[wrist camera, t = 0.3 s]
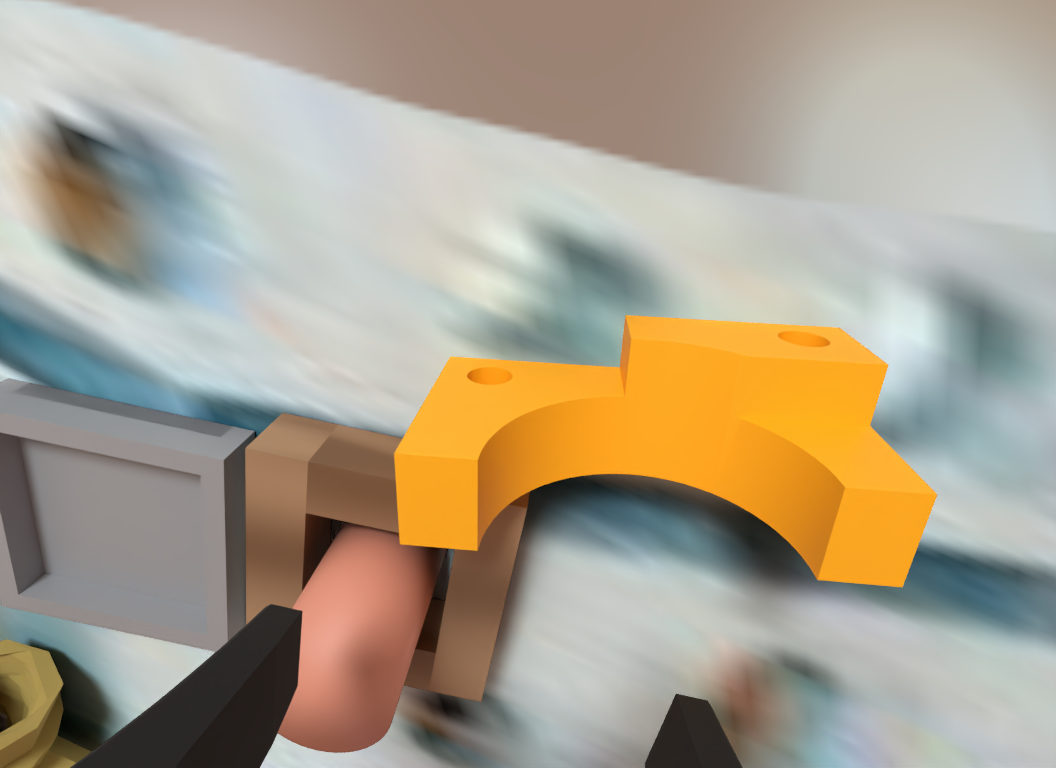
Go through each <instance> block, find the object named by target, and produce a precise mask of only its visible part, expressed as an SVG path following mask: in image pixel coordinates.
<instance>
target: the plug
mask: <svg viewBox="0 0 1056 768" xmlns="http://www.w3.org/2000/svg"><path fill="white" fill-rule="evenodd" d="M446 550H447V548H438V547H426V546H414V545H402V544H400V539H399V533H397V532H392V531H387V530H383V529H378V528H373V527H369V526H364V525H359V524H354V523H350V522H344V524H343V525H342V527H341V529H340V530H339V532H338V533H337V535H336V537H335V538H334V540H333V542H332V543H331V545H330V547H329V548H328V550H327V552H326V553H325V555H324V557H323V558H322V560H321V562H320V563H319V565H318V566H317V568H316V570H315V571H314V573H313V575H312V576H311V578H310V580H309V581H308V583H307V585H306V586H305V588H304V590H303V591H302V593H301V595H300V596H299V598H298V599H297V601H296V603H295V604H294V606H293V608H292V609H296V610H301V611H303V613H302V628H301V643H300V659H299V674H298V687H297V689H296V691H295V694H294V696H293V698H292V701H291V703H290V705H289V708H288V710H287V712H286V715H285V717H284V719H283V722H282V724H281V726H280V728H279V731H278V734H280V735H281V736H283V737H285V738H286V739H288V740H290V741H292V742H294V743H297V744H299V745H301V746H304V747H307V748H311V749H314V750H319V751H325V752H335V753H337V752H353V751H357V750H361V749H364V748H367V747H369V746H371V745H373V744H375V743H376V742H378V741H379V740H380V739H381V738H383V737H384V736H385V734H386V733H387V731H388V730H389V728H390V725H391V723H392V719H393V716H394V713H395V710H396V707H397V704H398V701H399V698H400V695H401V691H402V688H403V685H404V682H405V679H406V676H407V673H408V670H409V667H410V663H411V660H412V657H413V654H414V651H415V648H416V645H417V642H418V639H419V635H420V632H421V629H422V626H423V623H424V620H425V617H426V614H427V611H428V607H429V604H430V601H431V598H432V595H433V592H434V589H435V586H436V583H437V579H438V576H439V573H440V570H441V567H442V564H443V561H444V558H445V554H446Z"/></svg>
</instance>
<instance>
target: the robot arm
mask: <svg viewBox="0 0 1056 768" xmlns="http://www.w3.org/2000/svg"><path fill="white" fill-rule="evenodd" d="M302 613H303V611H301V610H296V609H292V608H287V607H283V606H278V605H274V604H270V605H268V606H266V607H265V608H264V609H263V610H261V611H260V612H259V613H258V614H257V615H256V616H255V617H254V618H253V619H252V620H251V621H250V622H249V623H248V624H246V625H245V626H244V627H243V628H242V629H241V630H240V631H239V632H238V633H237V634H236V635H234V636H233V637H232V638H231V639H230V640H229V641H228V642H227V643H226V644H224V645H223V646H222V647H221V648H220V649H219V650H218V651H217V652H215V653H214V654H213V655H212V656H211V657H210V658H209V659H207V660H206V661H205V662H204V663H203V664H202V665H200V666H199V667H198V668H197V669H196V670H195V671H193V672H192V673H191V674H190V675H189V676H187V677H186V678H185V679H184V680H183V681H181V682H180V683H179V684H178V685H177V686H175V687H174V688H173V689H172V690H171V691H169V692H168V693H167V694H166V695H165V696H163V697H162V698H161V699H160V700H158V701H157V702H156V703H155V704H154V705H152V706H151V707H150V708H148V709H147V710H146V711H145V712H143V713H142V714H141V715H139V716H138V717H137V718H135V719H134V720H133V721H132V722H130V723H129V724H128V725H126V726H125V727H124V728H122V729H121V730H120V731H119V732H117V733H116V734H115V735H113V736H112V737H111V738H110V739H108V740H107V741H106V742H104V743H103V744H102V745H100V746H99V747H98V748H96V749H95V750H93V751H92V752H91V753H89V754H88V755H87V756H85V757H84V758H82V759H81V760H80V761H78V762H77V763H76V764H74V765H73V766H71V767H70V768H260V766H261V764H262V762H263V761H264V759H265V757H266V755H267V753H268V751H269V750H270V748H271V746H272V744H273V742H274V740H275V737H276V735H277V733H278V731H279V728H280V726H281V724H282V722H283V719H284V717H285V715H286V712H287V710H288V708H289V705H290V703H291V701H292V698H293V696H294V694H295V691H296V689H297V687H298V674H299V659H300V643H301V628H302ZM645 768H742V766H741V764H740V762H739V760H738V758H737V756H736V754H735V752H734V750H733V748H732V746H731V744H730V742H729V741H728V739H727V737H726V735H725V733H724V731H723V729H722V727H721V725H720V723H719V721H718V719H717V717H716V715H715V713H714V711H713V709H712V707H711V705H710V704H709V702H708V701H707V700H702V699H698V698H693V697H689V696H684V695H679V694H676V695H675V697H674V700H673V702H672V704H671V706H670V709H669V711H668V713H667V715H666V717H665V720H664V722H663V724H662V726H661V729H660V731H659V733H658V735H657V738H656V740H655V742H654V744H653V746H652V749H651V751H650V753H649V755H648V758H647V760H646V762H645Z"/></svg>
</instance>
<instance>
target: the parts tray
mask: <svg viewBox="0 0 1056 768" xmlns="http://www.w3.org/2000/svg"><path fill="white" fill-rule="evenodd" d="M253 440H255V431H252V430H247V429H242V428H238V427H233V426H228V425H224V424H219V423H214V422H210V421H205V420H200V419H196V418H191V417H186V416H182V415H177V414H172V413H167V412H163V411H158V410H153V409H149V408H144V407H139V406H135V405H130V404H125V403H121V402H116V401H111V400H107V399H102V398H97V397H93V396H88V395H83V394H79V393H74V392H69V391H65V390H60V389H55V388H51V387H46V386H41V385H37V384H32V383H27V382H23V381H18V380H13V379H9V378H8V379H6V380H4V381H2V382H0V601H1V606H4V607H9V608H14V609H18V610H23V611H28V612H32V613H37V614H42V615H47V616H51V617H56V618H61V619H65V620H70V621H75V622H79V623H84V624H89V625H93V626H98V627H103V628H108V629H112V630H117V631H122V632H126V633H131V634H136V635H140V636H145V637H150V638H154V639H159V640H164V641H169V642H173V643H178V644H183V645H187V646H192V647H197V648H201V649H206V650H211V651H215V652H217V651H218V650H219V649H220V648H221V647H222V646H223V645H224V644H226V643H227V642H228V641H229V640H230V639H231V638H232V637H233V636H234V635H236V634H237V633H238V632H239V631H240V630H241V629H242V628H243V627H244V626H245V625H246V478H245V448H246V447H247V446H248V445H249V444H250V443H251V442H252V441H253Z"/></svg>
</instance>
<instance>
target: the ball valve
mask: <svg viewBox="0 0 1056 768" xmlns="http://www.w3.org/2000/svg"><path fill="white" fill-rule="evenodd" d="M62 686H63V682H62V679H61V677H60V675H59V673H58V671H57V668H56V666H55V664H54V662H53V660H52V657H51V655H50V653H49V651H45V650H42V649H38V648H35V647H31V646H28V645H24V644H21V643H17V642H14V641H10V640H7V639H6V640H3V641H0V768H70V767H71V766H73V765H74V764H76V763H77V762H78V761H80V760H81V759H82V758H84V757H85V756H87V755H88V754H89V753H91V751H89V750H87V749H85V748H83V747H81V746H79V745H76V744H74V743H72V742H70V741H68V740H66V739H64V738H61V737H59V736H57V734H58V730H59V726H60V722H61V718H62V713H63V705H62V699H61V694H60V690H61V688H62Z"/></svg>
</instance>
